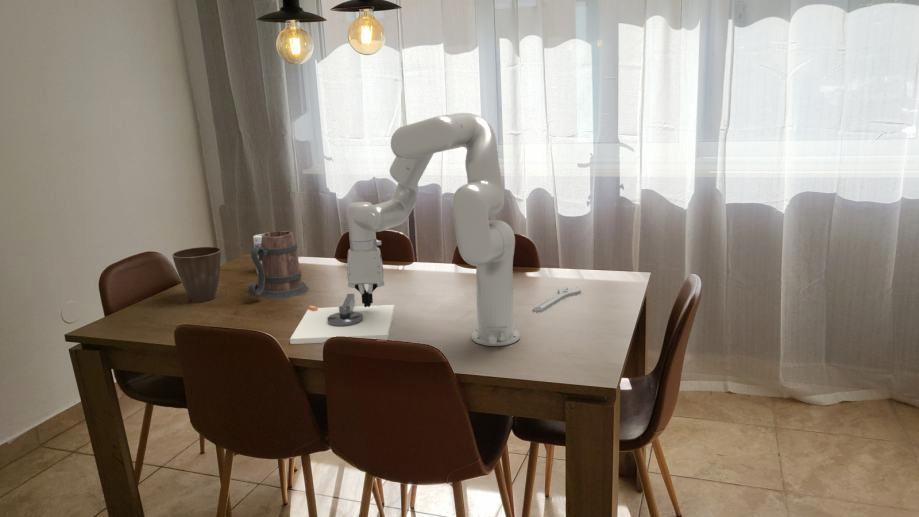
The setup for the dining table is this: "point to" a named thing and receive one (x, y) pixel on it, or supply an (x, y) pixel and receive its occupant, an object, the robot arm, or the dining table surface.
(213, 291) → the plant pot
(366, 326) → the dial board
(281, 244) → the tankard
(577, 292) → the adjustable wrench
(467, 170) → the robot arm
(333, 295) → the dining table surface
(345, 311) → the dial
